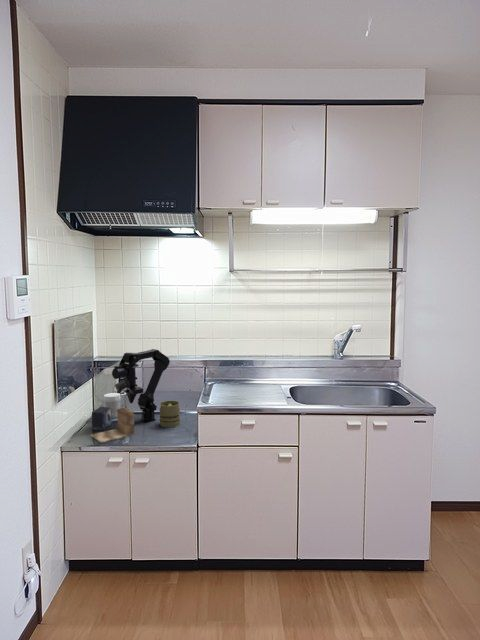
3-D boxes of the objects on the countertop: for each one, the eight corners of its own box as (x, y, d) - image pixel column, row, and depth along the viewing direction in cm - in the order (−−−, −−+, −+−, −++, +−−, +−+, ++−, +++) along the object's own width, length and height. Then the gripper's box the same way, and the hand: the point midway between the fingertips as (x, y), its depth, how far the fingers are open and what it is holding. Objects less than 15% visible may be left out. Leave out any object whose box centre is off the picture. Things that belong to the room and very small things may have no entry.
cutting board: (115, 430, 257) (115, 429, 257) (126, 436, 247) (126, 435, 247) (90, 435, 248) (90, 434, 248) (100, 442, 238) (100, 441, 238)
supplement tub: (124, 419, 275) (123, 394, 274) (109, 423, 269) (108, 397, 267) (116, 415, 282) (115, 391, 281) (101, 419, 276) (100, 394, 274)
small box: (102, 431, 255) (102, 412, 254) (91, 430, 256) (91, 411, 255) (111, 425, 265) (111, 406, 264) (101, 424, 267) (100, 406, 265)
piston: (179, 400, 272) (180, 405, 260) (179, 420, 273) (180, 426, 262) (159, 401, 270) (159, 406, 259) (160, 421, 271) (159, 427, 260)
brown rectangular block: (127, 428, 259) (126, 407, 258) (134, 433, 252) (134, 411, 251) (117, 430, 256) (117, 409, 254) (125, 435, 249) (124, 413, 247)
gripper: (109, 374, 262) (110, 402, 264) (124, 380, 248) (125, 409, 250) (127, 372, 270) (128, 398, 271) (143, 377, 255) (144, 405, 257)
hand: (131, 403), depth 262 cm, fingers closed
